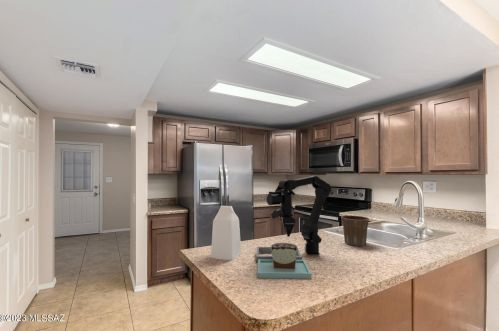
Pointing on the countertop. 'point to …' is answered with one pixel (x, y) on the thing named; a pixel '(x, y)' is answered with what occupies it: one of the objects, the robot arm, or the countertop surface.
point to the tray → (282, 270)
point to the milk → (226, 235)
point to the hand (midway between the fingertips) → (287, 234)
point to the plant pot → (355, 230)
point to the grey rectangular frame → (267, 250)
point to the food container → (284, 255)
